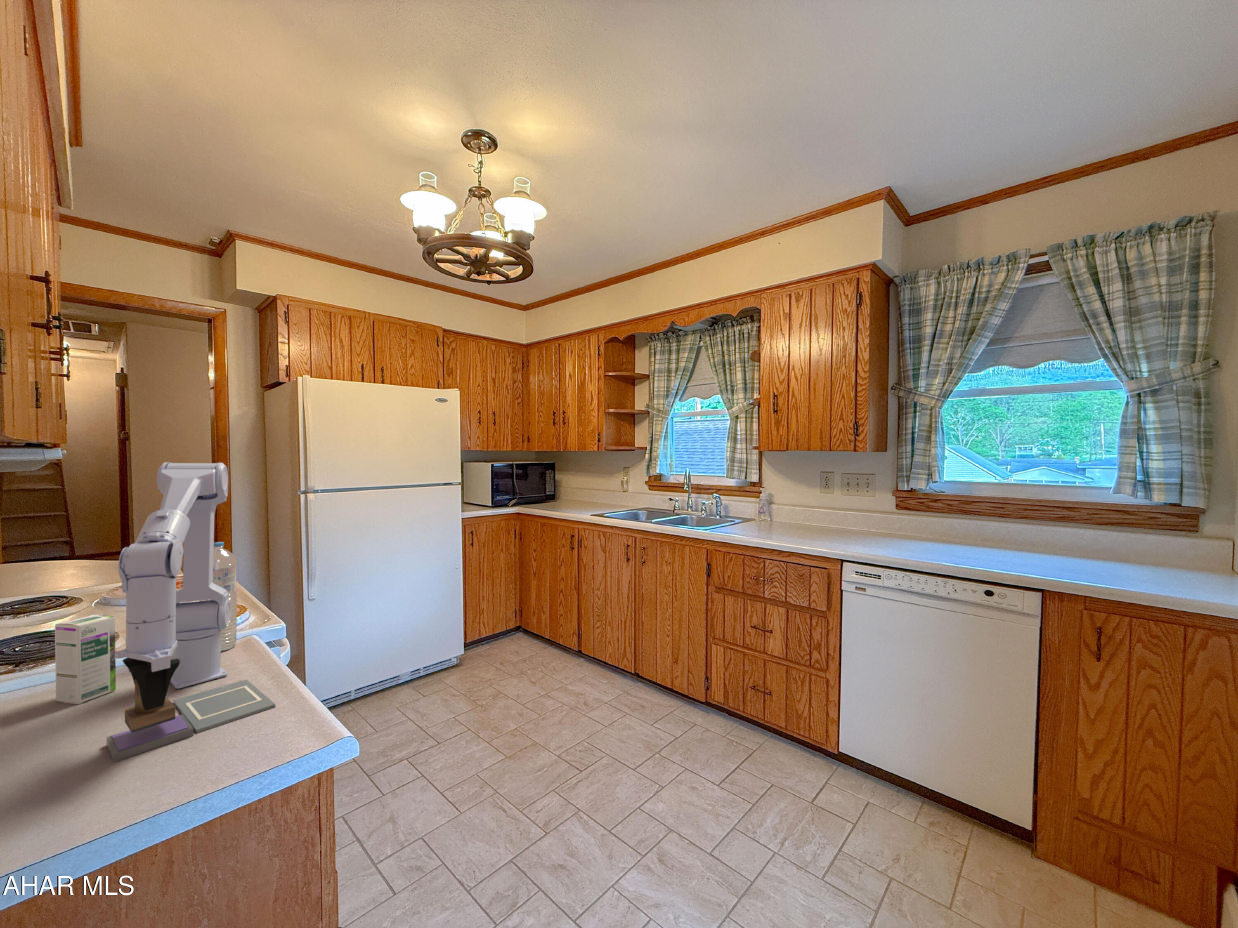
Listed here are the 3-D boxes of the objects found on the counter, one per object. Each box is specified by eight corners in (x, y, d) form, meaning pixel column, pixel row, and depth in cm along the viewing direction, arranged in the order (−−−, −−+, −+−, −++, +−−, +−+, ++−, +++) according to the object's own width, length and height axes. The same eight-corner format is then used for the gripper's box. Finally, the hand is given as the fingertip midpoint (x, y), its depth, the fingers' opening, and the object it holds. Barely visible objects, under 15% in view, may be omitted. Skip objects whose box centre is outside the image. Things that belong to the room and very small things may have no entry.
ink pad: (106, 744, 76) (106, 735, 76) (182, 720, 83) (182, 712, 83) (113, 761, 72) (113, 752, 72) (193, 735, 79) (193, 726, 79)
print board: (173, 702, 90) (173, 699, 90) (246, 681, 98) (246, 678, 98) (196, 732, 80) (196, 729, 80) (275, 706, 89) (275, 703, 89)
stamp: (124, 722, 77) (124, 677, 77) (167, 709, 81) (167, 667, 81) (131, 732, 74) (131, 686, 74) (175, 718, 78) (175, 675, 78)
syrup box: (78, 705, 88) (78, 624, 88) (53, 701, 90) (54, 622, 90) (116, 690, 94) (116, 615, 94) (92, 687, 95) (93, 613, 95)
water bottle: (196, 649, 115) (196, 542, 115) (232, 641, 120) (233, 539, 120) (202, 656, 111) (203, 546, 111) (239, 648, 116) (240, 542, 116)
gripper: (108, 614, 79) (107, 698, 79) (123, 635, 70) (123, 729, 70) (167, 604, 85) (166, 683, 85) (188, 622, 76) (187, 710, 76)
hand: (151, 703), depth 78 cm, fingers closed on stamp, 3 cm apart
